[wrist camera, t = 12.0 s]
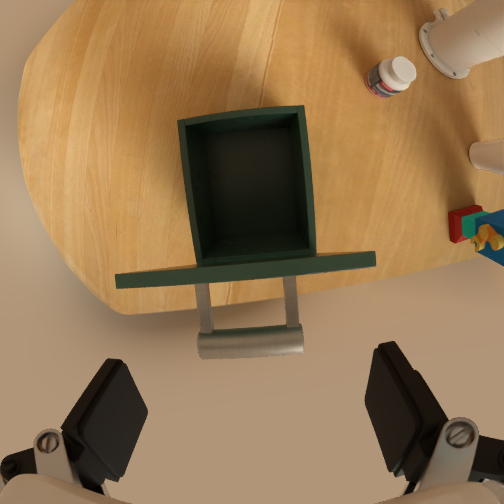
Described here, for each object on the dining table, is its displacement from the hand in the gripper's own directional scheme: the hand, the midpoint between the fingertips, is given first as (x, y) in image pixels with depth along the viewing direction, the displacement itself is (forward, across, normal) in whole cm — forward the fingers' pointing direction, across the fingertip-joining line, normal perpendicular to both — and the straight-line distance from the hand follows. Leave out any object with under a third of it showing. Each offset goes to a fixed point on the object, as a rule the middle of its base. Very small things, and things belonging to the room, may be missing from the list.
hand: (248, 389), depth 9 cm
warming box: (+34, 0, -6) cm, 34 cm away
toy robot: (+34, -39, +3) cm, 52 cm away
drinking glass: (+34, -43, -10) cm, 55 cm away
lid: (+13, 0, 0) cm, 13 cm away
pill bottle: (+34, -22, -21) cm, 45 cm away
